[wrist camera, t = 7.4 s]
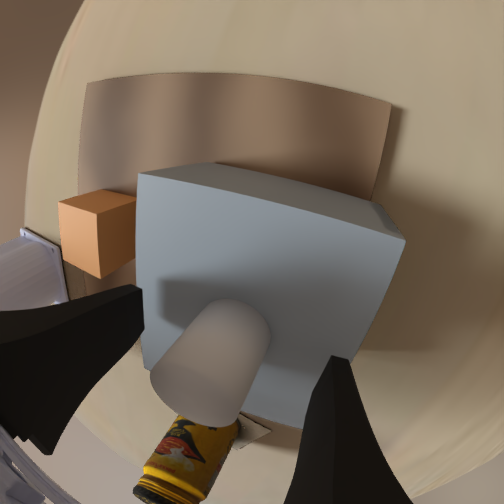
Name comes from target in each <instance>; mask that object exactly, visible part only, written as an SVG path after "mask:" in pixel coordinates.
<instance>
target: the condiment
mask: <svg viewBox="0 0 504 504" xmlns="http://www.w3.org/2000/svg"><path fill="white" fill-rule="evenodd" d="M174 412H175V411H174ZM175 413H176V412H175ZM176 414H178V413H176ZM242 425H243V426H242ZM243 427H245V429H244V428H243ZM270 432H272V431H271V430H269V429H266V428H264V427H263V426H261V425H259V424H257V423H254V422H253V421H252V420H250V419H248V418H246V417H244V416H243V415H241V414H239V415H238V417H237V419H236V421H235V422H234V423H232V424H231V425H229V426H225V427H210V426H205V425H201V424H198V423H195V422H193V421H190V420H188V419H186V418H184V417H183V416H181V415H179V414H178V417H177V419H176V420H175V421H174V423H173V424H172V426H171V427H170V429H169V430H168V432H167V433H166V435H165V436H164V438H163V439H162V441H161V442H160V444H159V445H158V446H157V448H156V449H155V451H154V453H153V454H152V455H151V457H150V458H149V459H148V460H147V462H146V464H145V465H144V467H143V471H144V475H143V476H142V477H141V478H140V479H139V480H140V482H138V484H137V485H136V486H135V487H134V489H133V494H134V495H135V496H136V497H137V498H139V499H140V500H142V501H143V502H145V503H146V504H199V503H200V502H201V501H203V500H205V499H206V498H207V496H208V494H209V492H210V490H211V488H212V486H213V485H214V483H215V480H216V478H217V476H218V474H219V472H220V470H221V468H222V466H223V464H224V462H225V460H226V458H227V455H228V454H229V452H230V450H231V447H232V448H234V449H236V450H238V449H240V448H241V447H243V446H245V445H247V444H249V443H250V442H252V441H254V440H256V439H258V438H260V437H262V436H264V435H265V434H268V433H270Z"/></svg>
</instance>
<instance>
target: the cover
mask: <svg viewBox="0 0 504 504" xmlns="http://www.w3.org/2000/svg"><path fill="white" fill-rule="evenodd" d="M405 243H406V240H405V238H404V237H403V235H402V234H401V232H400V231H399V230H398V228H397V227H396V225H395V224H394V222H393V221H392V220H391V218H390V217H389V216H388V214H387V213H386V212H385V210H384V209H383V207H382V206H381V205H380V204H377V203H373V202H370V201H367V200H364V199H361V198H357V197H354V196H351V195H347V194H344V193H340V192H337V191H333V190H330V189H326V188H322V187H318V186H315V185H311V184H307V183H303V182H299V181H295V180H291V179H287V178H283V177H278V176H274V175H270V174H265V173H261V172H256V171H251V170H247V169H242V168H237V167H232V166H226V165H221V164H216V163H210V162H204V163H196V164H189V165H182V166H176V167H170V168H164V169H158V170H152V171H147V172H141V173H138V184H137V202H136V284H137V287H139V288H142V289H143V310H144V325H145V330H144V331H143V332H142V334H141V335H140V338H141V347H142V355H143V363H144V368H145V369H147V370H149V371H151V372H150V380H151V384H152V386H153V388H154V390H155V392H156V393H157V395H158V396H159V397H160V398H161V400H162V401H163V402H164V403H165V404H166V405H167V406H169V407H170V408H171V409H172V410H174V411H175V412H176V413H178V414H179V415H181V416H183V417H184V418H186V419H188V420H190V421H193V422H195V423H198V424H201V425H205V426H210V427H225V426H229V425H231V424H232V423H234V422H235V421H236V419H237V417H238V415H239V413H240V411H243V412H246V413H249V414H252V415H255V416H258V417H261V418H264V419H267V420H271V421H274V422H277V423H281V424H284V425H288V426H291V427H295V428H299V429H303V426H304V420H305V415H306V412H307V408H308V404H309V401H310V397H311V394H312V391H313V389H314V387H315V385H316V384H317V382H318V380H319V378H320V376H321V374H322V372H323V370H324V368H325V366H326V364H327V363H328V361H329V359H330V357H331V355H333V356H337V357H341V358H345V359H348V360H349V362H350V364H351V362H352V360H353V358H354V357H355V355H356V353H357V351H358V349H359V347H360V345H361V344H362V342H363V340H364V338H365V336H366V334H367V332H368V330H369V328H370V326H371V324H372V322H373V320H374V318H375V316H376V313H377V311H378V309H379V307H380V305H381V303H382V300H383V298H384V296H385V294H386V291H387V289H388V287H389V284H390V282H391V280H392V277H393V275H394V272H395V270H396V267H397V265H398V262H399V260H400V257H401V254H402V252H403V249H404V246H405Z"/></svg>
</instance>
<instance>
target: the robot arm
mask: <svg viewBox="0 0 504 504" xmlns="http://www.w3.org/2000/svg"><path fill="white" fill-rule="evenodd" d="M20 233H21V236H19V237H17V238H15V239H13V240H10V241H8V242H6V243H4V244H2V245H0V504H46V503H45V502H44V500H45V496H46V497H47V498H49V499H50V500H51V501H52V502H53V503H54V504H81V503H79V502H78V501H77V500H75V499H74V498H73V497H71V496H70V495H69V494H68V493H67V492H66V491H64V490H63V489H62V488H61V487H60V486H59V485H57V484H56V483H55V482H54V481H53V480H52V479H51V478H50V477H49V476H47V475H46V474H45V473H44V472H43V471H42V470H41V469H40V468H39V467H38V466H37V465H36V464H35V463H34V462H33V461H32V460H31V459H30V458H29V457H28V456H27V454H25V452H24V451H23V450H22V449H21V448H20V447H19V445H18V444H17V443H16V442H15V441H14V440H13V439H14V438H15V437H16V436H18V437H19V438H20V439H21V440H22V441H23V442H25V441H26V440H27V439H29V440H30V441H31V442H32V443H33V444H34V445H35V446H36V447H37V448H38V449H39V450H40V451H41V452H42V453H43V454H44V455H52V454H53V451H54V449H55V446H56V445H57V442H58V440H59V439H60V436H61V434H62V433H63V431H64V429H65V427H66V426H67V424H68V422H69V420H70V419H71V417H72V416H73V414H74V413H75V411H76V410H77V408H78V407H79V405H80V404H81V402H82V401H83V400H84V398H85V397H86V396H87V394H88V393H89V392H90V390H91V389H92V388H93V387H94V386H95V384H96V383H97V382H98V381H99V380H100V379H101V378H102V377H103V376H104V375H105V374H106V373H107V372H108V371H109V370H110V369H111V368H112V367H113V366H114V365H115V364H116V363H117V362H118V361H119V360H120V359H121V358H122V357H123V356H124V355H125V354H126V353H127V352H128V351H129V349H130V348H131V347H132V346H133V345H134V343H135V342H136V341H137V339H138V338H139V337H140V335H141V334H142V332H143V331H144V330H145V325H144V310H143V289H142V288H139V287H137V286H135V285H132V284H127V285H123V286H119V287H115V288H112V289H109V290H105V291H102V292H99V293H95V294H92V295H89V296H85V297H82V298H79V299H75V300H71V301H69V299H68V295H67V290H66V284H65V279H64V273H63V267H62V260H61V253H60V249H59V247H58V246H56V245H54V244H52V243H50V242H48V241H47V240H45V239H43V238H41V237H39V236H37V235H36V234H34V233H32V232H30V231H29V230H27V229H25V228H21V229H20ZM53 302H54V303H55V305H51V306H49V305H50V304H52V303H53ZM12 461H13V463H14V464H15V465H16V466H17V467H18V468H19V469H20V471H21V472H22V473H23V474H24V475H23V474H22V473H21V472H20V471H19V470H18V469H16V468H15V467H14V466H13V465H12ZM42 493H43V494H44V495H45V496H44V495H43V494H42ZM284 504H413V503H412V501H411V500H410V499H409V497H408V496H407V494H406V493H405V491H404V490H403V488H402V486H401V485H400V483H399V482H398V480H397V479H396V477H395V476H394V474H393V472H392V470H391V468H390V467H389V465H388V463H387V461H386V459H385V457H384V455H383V453H382V451H381V449H380V447H379V445H378V442H377V440H376V438H375V435H374V433H373V430H372V428H371V426H370V423H369V420H368V418H367V415H366V412H365V409H364V407H363V404H362V401H361V398H360V395H359V392H358V389H357V385H356V382H355V379H354V376H353V372H352V369H351V365H350V362H349V360H348V359H345V358H341V357H337V356H333V355H331V357H330V359H329V361H328V363H327V364H326V366H325V368H324V370H323V372H322V374H321V376H320V378H319V380H318V382H317V384H316V385H315V387H314V389H313V391H312V394H311V397H310V401H309V404H308V408H307V412H306V415H305V420H304V426H303V432H302V437H301V443H300V448H299V453H298V458H297V463H296V468H295V472H294V476H293V479H292V482H291V485H290V488H289V490H288V493H287V496H286V499H285V501H284Z"/></svg>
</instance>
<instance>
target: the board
mask: <svg viewBox="0 0 504 504" xmlns="http://www.w3.org/2000/svg"><path fill="white" fill-rule="evenodd" d="M391 106H392V104H390V103H387V102H383V101H380V100H377V99H374V98H370V97H367V96H363V95H360V94H356V93H352V92H348V91H344V90H340V89H336V88H331V87H326V86H322V85H317V84H311V83H306V82H300V81H294V80H287V79H280V78H273V77H264V76H254V75H242V74H225V73H169V74H152V75H140V76H131V77H122V78H115V79H108V80H102V81H96V82H91V83H87V87H86V93H85V100H84V106H83V114H82V122H81V132H80V144H79V160H78V196H79V195H82V194H86V193H89V192H93V191H96V190H100V189H103V190H107V191H111V192H115V193H120V194H124V195H128V196H132V197H137V184H138V173H141V172H147V171H152V170H158V169H164V168H170V167H176V166H182V165H189V164H196V163H204V162H210V163H216V164H221V165H226V166H232V167H237V168H242V169H247V170H251V171H256V172H261V173H265V174H270V175H274V176H278V177H283V178H287V179H291V180H295V181H299V182H303V183H307V184H311V185H315V186H318V187H322V188H326V189H330V190H333V191H337V192H340V193H344V194H347V195H351V196H354V197H357V198H361V199H364V200H367V201H370V200H371V196H372V193H373V189H374V185H375V181H376V177H377V173H378V169H379V165H380V161H381V156H382V152H383V147H384V143H385V138H386V133H387V128H388V123H389V117H390V112H391ZM83 274H84V281H85V288H86V294H87V296H89V295H92V294H95V293H99V292H102V291H105V290H109V289H112V288H115V287H119V286H123V285H127V284H132V285H135V286H137V284H136V258H135V259H133V260H131V261H130V262H128V263H126V264H125V265H123V266H121V267H120V268H118V269H117V270H115V271H113V272H112V273H110V274H108V275H107V276H105V277H104V278H102V279H99V278H97V277H95V276H93V275H91V274H89V273H88V272H86V271H84V270H83Z"/></svg>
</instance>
